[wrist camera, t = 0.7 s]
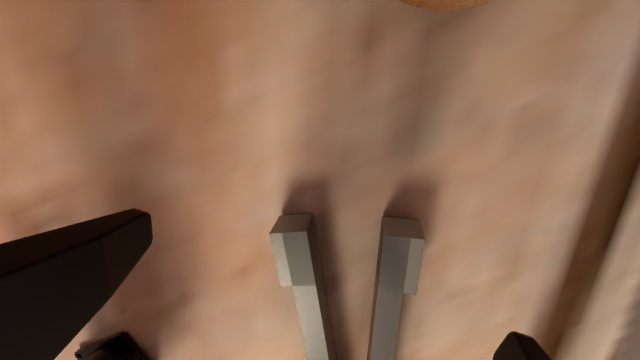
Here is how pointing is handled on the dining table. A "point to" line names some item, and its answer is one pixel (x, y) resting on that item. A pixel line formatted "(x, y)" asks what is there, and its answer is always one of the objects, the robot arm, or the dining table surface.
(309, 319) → the arm
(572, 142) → the dining table surface
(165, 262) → the dining table surface
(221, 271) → the dining table surface
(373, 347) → the tongs base
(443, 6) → the tan round lump
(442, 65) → the dining table surface
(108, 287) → the robot arm
